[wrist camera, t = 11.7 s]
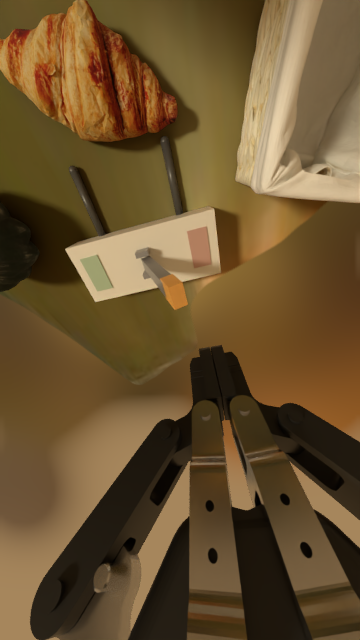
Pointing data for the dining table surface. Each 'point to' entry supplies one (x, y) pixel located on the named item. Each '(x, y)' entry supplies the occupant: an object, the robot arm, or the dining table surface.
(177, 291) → the lever
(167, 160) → the switch block
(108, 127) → the croissant
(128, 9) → the dining table surface
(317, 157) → the storage basket
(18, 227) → the squash
